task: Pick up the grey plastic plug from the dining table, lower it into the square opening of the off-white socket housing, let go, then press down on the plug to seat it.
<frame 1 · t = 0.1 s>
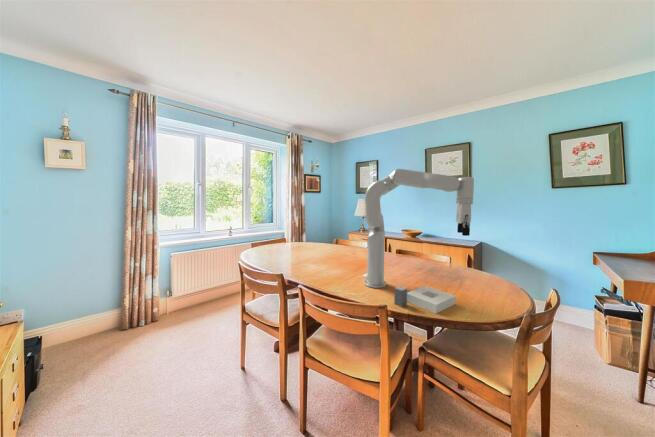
hand: (463, 234, 130), 31 cm above the table, fingers open, 9 cm apart
socket housing: (429, 302, 120), on the table
plug: (400, 304, 118), on the table
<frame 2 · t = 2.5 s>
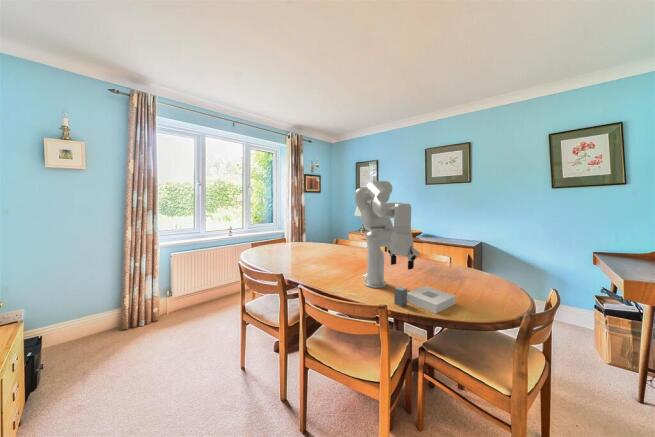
hand: (401, 266, 116), 18 cm above the table, fingers open, 9 cm apart
nothing on the table moved.
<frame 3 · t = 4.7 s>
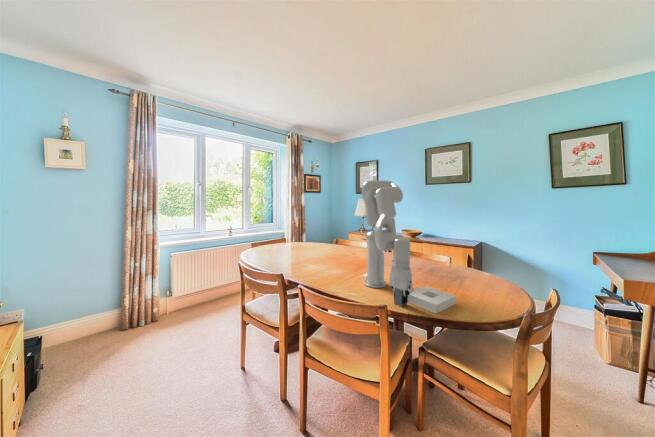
hand: (400, 301, 118), 1 cm above the table, fingers closed on plug, 4 cm apart
plug: (400, 304, 118), on the table, touching gripper
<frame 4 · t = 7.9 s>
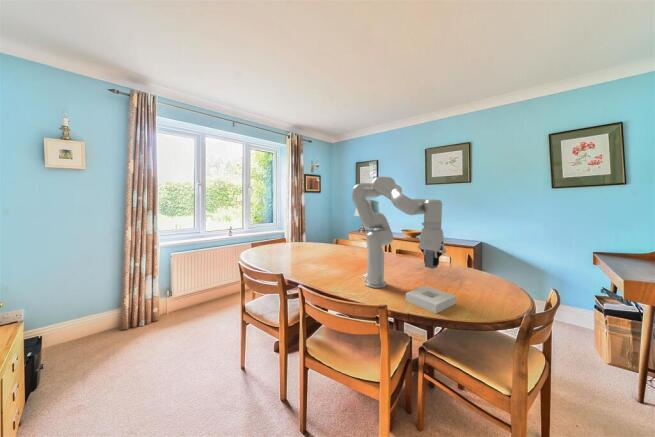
hand: (431, 264, 118), 19 cm above the table, fingers closed on plug, 4 cm apart
plug: (431, 267, 118), point 18 cm above the table, touching gripper
when the fingers open (5 cm above the table, at t = 11.4 s): plug drops 3 cm, resting in socket housing.
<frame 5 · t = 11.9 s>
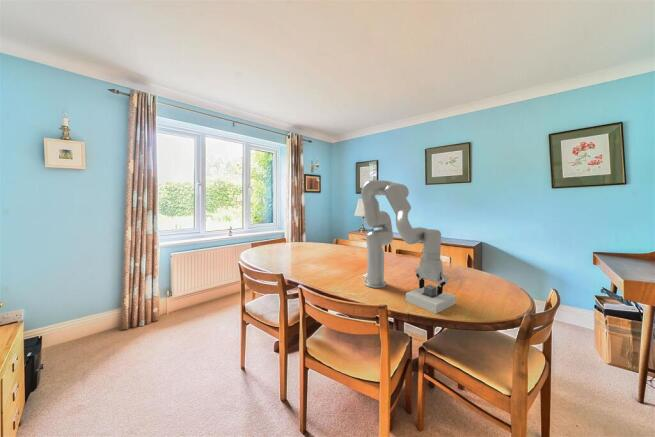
hand: (430, 290, 119), 6 cm above the table, fingers open, 9 cm apart
plug: (429, 302, 120), resting in socket housing
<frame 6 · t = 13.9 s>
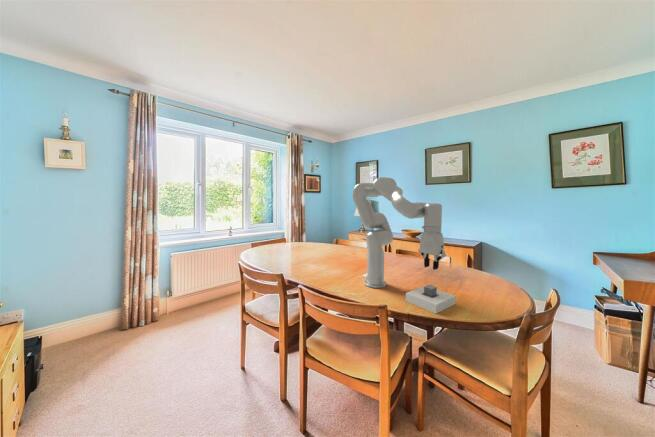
hand: (431, 267, 118), 17 cm above the table, fingers open, 3 cm apart
nothing on the table moved.
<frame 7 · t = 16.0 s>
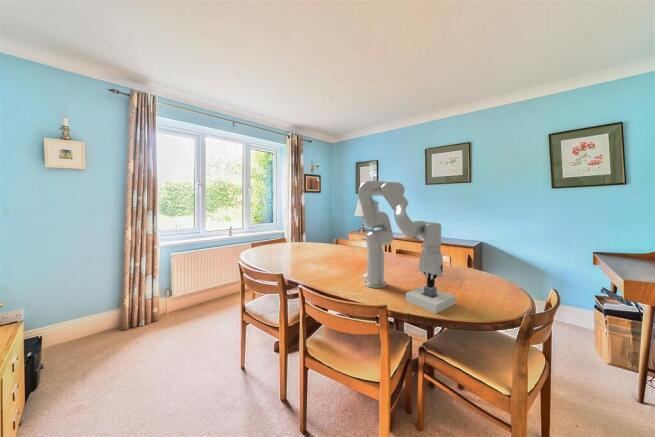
hand: (430, 286, 119), 8 cm above the table, fingers closed
plug: (429, 302, 120), resting in socket housing, touching gripper
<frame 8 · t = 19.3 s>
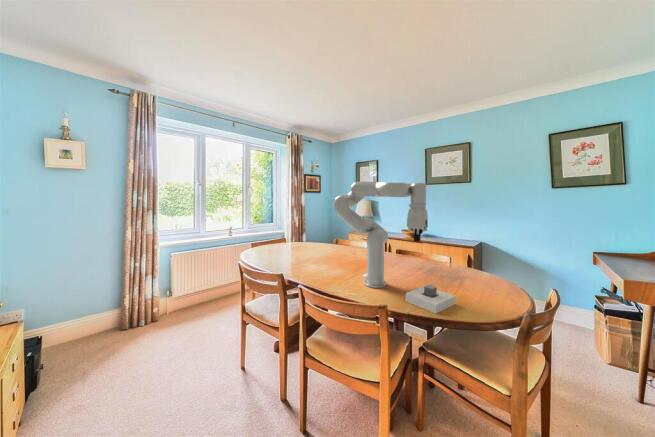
hand: (417, 241, 132), 27 cm above the table, fingers closed
plug: (429, 302, 120), resting in socket housing
at the end: plug 0.1 cm off-centre on the socket housing, point 0.0 cm above the socket housing's base; plug tilted 0° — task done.
